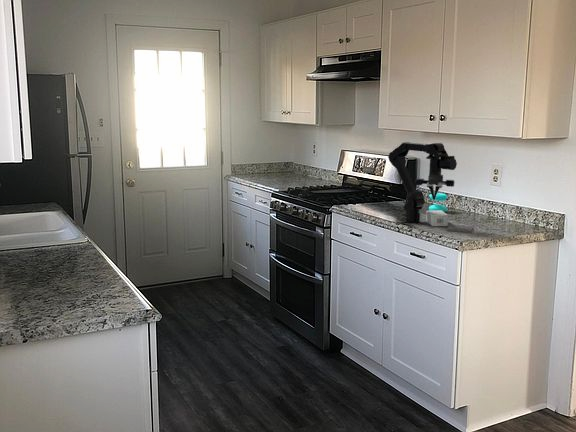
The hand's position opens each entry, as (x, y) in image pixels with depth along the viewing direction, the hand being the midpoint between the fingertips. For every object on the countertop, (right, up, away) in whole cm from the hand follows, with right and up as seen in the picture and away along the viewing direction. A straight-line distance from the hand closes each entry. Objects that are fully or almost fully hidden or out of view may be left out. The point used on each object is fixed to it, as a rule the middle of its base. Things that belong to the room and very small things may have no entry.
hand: (433, 199), depth 300 cm
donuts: (+13, -6, +44) cm, 46 cm away
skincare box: (+3, -11, -2) cm, 11 cm away
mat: (+11, -15, -7) cm, 20 cm away
